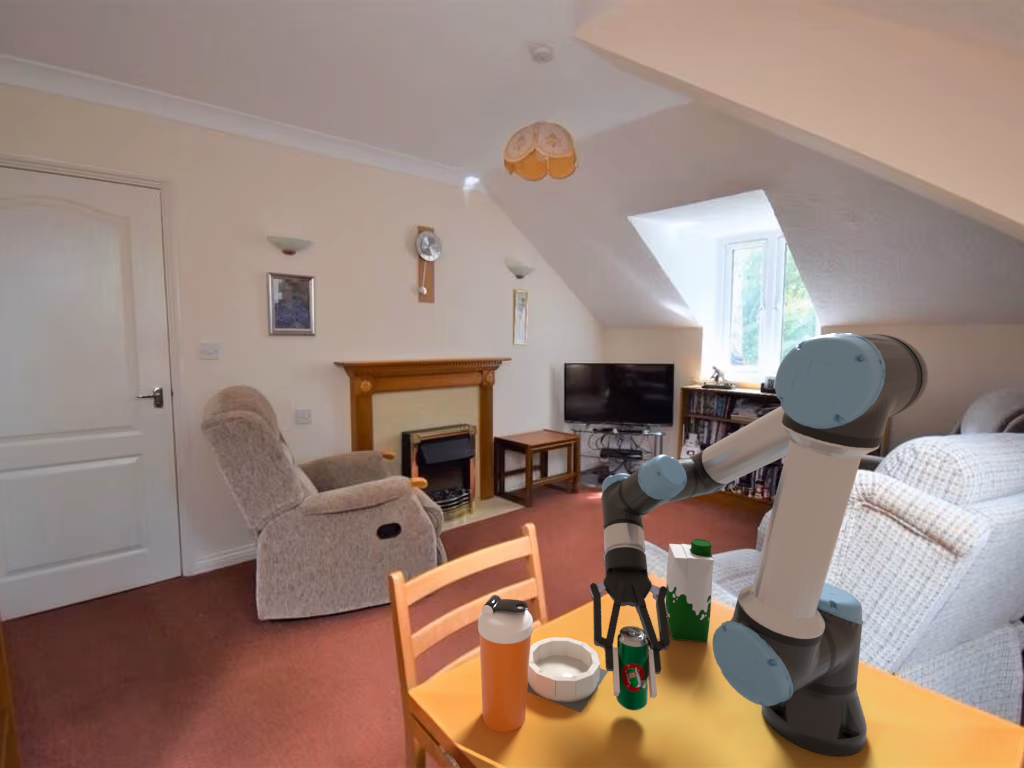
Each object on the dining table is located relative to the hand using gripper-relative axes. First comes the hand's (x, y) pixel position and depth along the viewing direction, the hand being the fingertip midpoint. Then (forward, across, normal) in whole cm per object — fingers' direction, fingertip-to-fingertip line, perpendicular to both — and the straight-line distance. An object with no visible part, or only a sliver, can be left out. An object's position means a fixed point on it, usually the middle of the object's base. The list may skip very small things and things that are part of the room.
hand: (635, 694), depth 86 cm
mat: (-4, +12, -13) cm, 18 cm away
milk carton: (-18, -15, -27) cm, 36 cm away
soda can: (0, 0, -6) cm, 6 cm away
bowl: (-5, +12, -13) cm, 18 cm away
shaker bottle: (+4, +21, -6) cm, 22 cm away
